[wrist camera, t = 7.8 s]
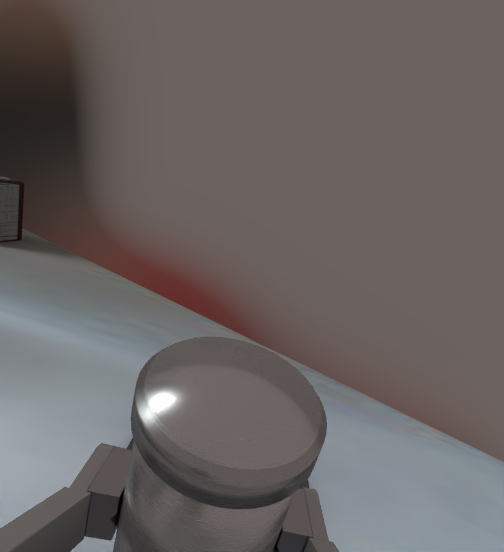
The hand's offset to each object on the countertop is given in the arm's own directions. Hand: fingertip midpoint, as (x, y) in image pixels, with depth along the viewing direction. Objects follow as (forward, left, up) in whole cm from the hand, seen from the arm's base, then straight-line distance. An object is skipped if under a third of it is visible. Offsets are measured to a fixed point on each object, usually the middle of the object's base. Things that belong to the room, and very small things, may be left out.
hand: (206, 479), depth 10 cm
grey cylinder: (0, -1, -6) cm, 6 cm away
